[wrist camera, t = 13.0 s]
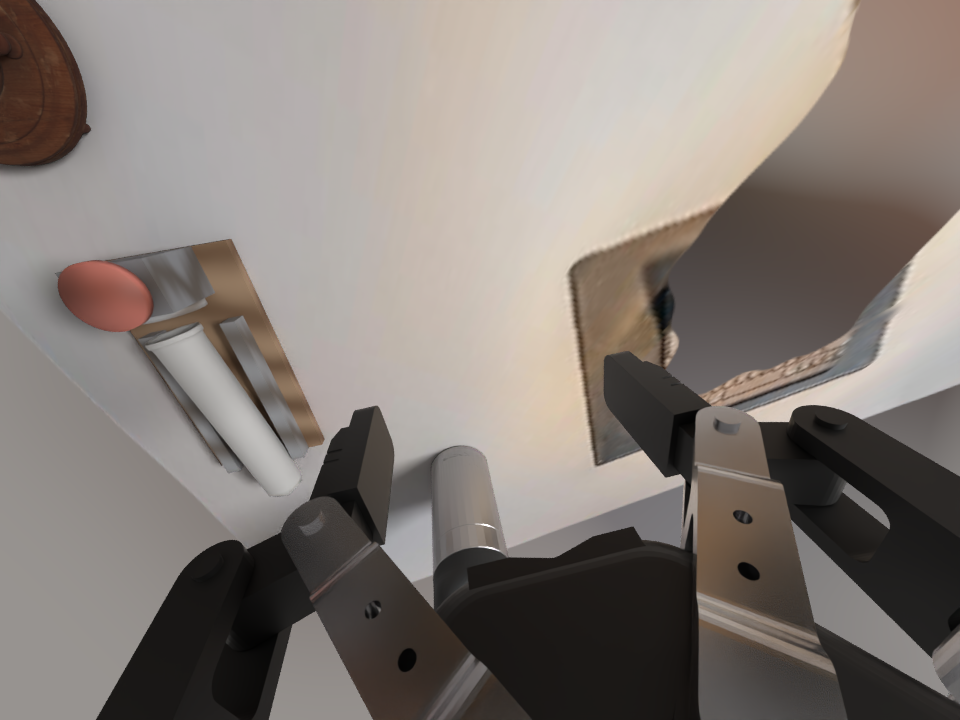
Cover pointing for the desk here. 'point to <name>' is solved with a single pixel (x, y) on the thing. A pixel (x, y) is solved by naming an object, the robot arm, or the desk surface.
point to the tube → (226, 406)
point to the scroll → (37, 88)
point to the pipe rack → (226, 321)
